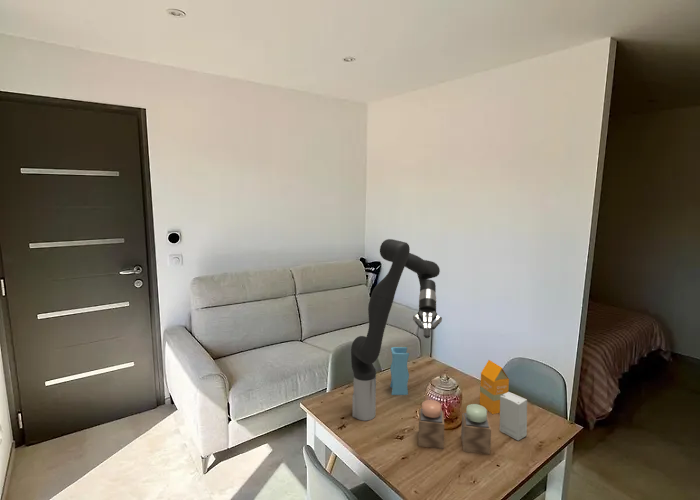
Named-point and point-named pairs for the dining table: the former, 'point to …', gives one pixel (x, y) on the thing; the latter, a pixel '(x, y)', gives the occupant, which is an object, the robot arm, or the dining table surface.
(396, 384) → the vase
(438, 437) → the pillar
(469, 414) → the sage button
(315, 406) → the dining table surface
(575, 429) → the dining table surface
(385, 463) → the dining table surface
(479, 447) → the pillar
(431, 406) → the terracotta button
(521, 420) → the skincare box
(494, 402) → the orange juice
